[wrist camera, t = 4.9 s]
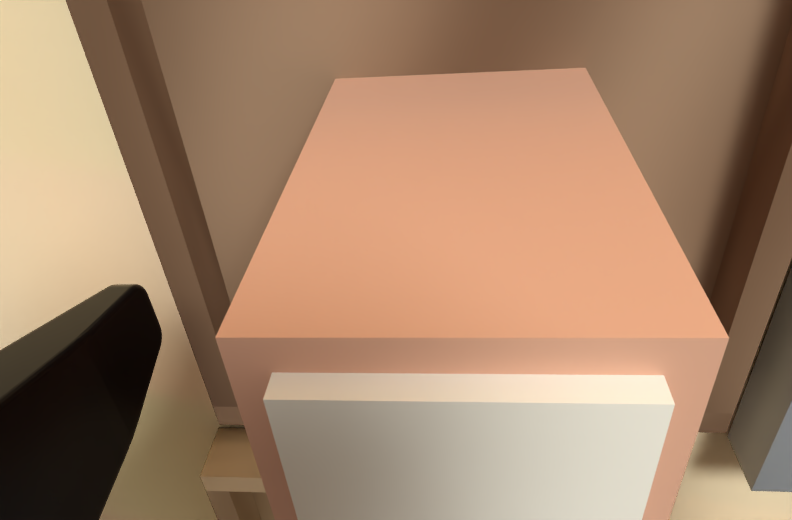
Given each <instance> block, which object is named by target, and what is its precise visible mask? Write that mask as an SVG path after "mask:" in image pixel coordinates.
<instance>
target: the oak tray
mask: <svg viewBox="0 0 792 520" xmlns="http://www.w3.org/2000/svg"><path fill="white" fill-rule="evenodd" d="M200 478H201V480H202V483H203V485H204V488H205V490H206V492H207V495H208V497H209V499H210V502H211V504H212V507H213V509H214V511H215V514H216V516H217V518H218V520H275V519H274V516H273V513H272V509H271V506H270V503H269V500H268V497H267V494H266V491H265V488H264V485H263V482H262V479H261V476H260V473H259V470H258V467H257V464H256V461H255V458H254V455H253V451H252V448H251V445H250V442H249V439H248V436H247V433H246V430H245V428H218V431H217V434H216V436H215V439H214V441H213V444H212V446H211V449H210V452H209V454H208V457H207V459H206V462H205V464H204V467H203V470H202V472H201V475H200Z"/></svg>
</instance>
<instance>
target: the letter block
mask: <svg viewBox="0 0 792 520" xmlns="http://www.w3.org/2000/svg"><path fill="white" fill-rule="evenodd" d="M215 338H216V342H217V345H218V348H219V351H220V354H221V357H222V360H223V363H224V366H225V369H226V372H227V375H228V378H229V381H230V384H231V387H232V390H233V393H234V397H235V400H236V403H237V406H238V409H239V412H240V415H241V418H242V421H243V424H244V427H245V430H246V433H247V436H248V439H249V442H250V445H251V448H252V451H253V455H254V458H255V461H256V464H257V467H258V470H259V473H260V476H261V479H262V482H263V485H264V488H265V491H266V494H267V497H268V500H269V503H270V506H271V509H272V513H273V516H274V519H275V520H669V518H670V515H671V512H672V509H673V506H674V503H675V500H676V497H677V494H678V491H679V488H680V485H681V482H682V479H683V476H684V473H685V470H686V467H687V464H688V461H689V458H690V455H691V452H692V449H693V446H694V443H695V440H696V437H697V434H698V431H699V428H700V425H701V422H702V419H703V416H704V413H705V410H706V407H707V404H708V401H709V398H710V395H711V392H712V389H713V386H714V383H715V380H716V377H717V374H718V371H719V367H720V364H721V361H722V358H723V355H724V352H725V349H726V346H727V343H728V340H729V337H728V335H727V333H726V331H725V329H724V327H723V325H722V324H721V322H720V320H719V318H718V316H717V314H716V312H715V310H714V309H713V307H712V305H711V303H710V301H709V299H708V297H707V295H706V293H705V292H704V290H703V288H702V286H701V284H700V282H699V280H698V278H697V277H696V275H695V273H694V271H693V269H692V267H691V265H690V263H689V261H688V260H687V258H686V256H685V254H684V252H683V250H682V248H681V246H680V245H679V243H678V241H677V239H676V237H675V235H674V233H673V231H672V230H671V228H670V226H669V224H668V222H667V220H666V218H665V216H664V214H663V213H662V211H661V209H660V207H659V205H658V203H657V201H656V199H655V198H654V196H653V194H652V192H651V190H650V188H649V186H648V184H647V182H646V181H645V179H644V177H643V175H642V173H641V171H640V169H639V167H638V166H637V164H636V162H635V160H634V158H633V156H632V154H631V152H630V150H629V149H628V147H627V145H626V143H625V141H624V139H623V137H622V135H621V134H620V132H619V130H618V128H617V126H616V124H615V122H614V120H613V119H612V117H611V115H610V113H609V111H608V109H607V107H606V105H605V103H604V102H603V100H602V98H601V96H600V94H599V92H598V90H597V88H596V87H595V85H594V83H593V81H592V79H591V77H590V75H589V73H588V71H587V70H586V68H568V69H545V70H522V71H499V72H477V73H454V74H431V75H408V76H385V77H363V78H340V79H335V80H334V82H333V85H332V87H331V89H330V91H329V93H328V95H327V98H326V100H325V102H324V104H323V106H322V108H321V110H320V113H319V115H318V117H317V119H316V121H315V123H314V126H313V128H312V130H311V132H310V134H309V136H308V139H307V141H306V143H305V145H304V147H303V149H302V151H301V154H300V156H299V158H298V160H297V162H296V164H295V167H294V169H293V171H292V173H291V175H290V177H289V179H288V182H287V184H286V186H285V188H284V190H283V192H282V195H281V197H280V199H279V201H278V203H277V205H276V208H275V210H274V212H273V214H272V216H271V218H270V220H269V223H268V225H267V227H266V229H265V231H264V233H263V236H262V238H261V240H260V242H259V244H258V246H257V248H256V251H255V253H254V255H253V257H252V259H251V261H250V264H249V266H248V268H247V270H246V272H245V274H244V277H243V279H242V281H241V283H240V285H239V287H238V289H237V292H236V294H235V296H234V298H233V300H232V302H231V305H230V307H229V309H228V311H227V313H226V315H225V317H224V320H223V322H222V324H221V326H220V328H219V330H218V333H217V335H216V337H215Z"/></svg>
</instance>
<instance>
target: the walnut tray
mask: <svg viewBox="0 0 792 520" xmlns="http://www.w3.org/2000/svg"><path fill="white" fill-rule="evenodd" d="M66 2H67V5H68V8H69V11H70V13H71V16H72V19H73V22H74V24H75V27H76V30H77V33H78V35H79V38H80V41H81V44H82V47H83V49H84V52H85V55H86V58H87V60H88V63H89V66H90V69H91V71H92V74H93V77H94V80H95V82H96V85H97V88H98V91H99V93H100V96H101V99H102V102H103V104H104V107H105V110H106V113H107V115H108V118H109V121H110V124H111V127H112V129H113V132H114V135H115V138H116V140H117V143H118V146H119V149H120V151H121V154H122V157H123V160H124V162H125V165H126V168H127V171H128V173H129V176H130V179H131V182H132V184H133V187H134V190H135V193H136V195H137V198H138V201H139V204H140V207H141V209H142V212H143V215H144V218H145V220H146V223H147V226H148V229H149V231H150V234H151V237H152V240H153V242H154V245H155V248H156V251H157V253H158V256H159V259H160V262H161V264H162V267H163V270H164V273H165V276H166V278H167V281H168V284H169V287H170V289H171V292H172V295H173V298H174V300H175V303H176V306H177V309H178V311H179V314H180V317H181V320H182V322H183V325H184V328H185V331H186V333H187V336H188V339H189V342H190V344H191V347H192V350H193V353H194V356H195V358H196V361H197V364H198V367H199V369H200V372H201V375H202V378H203V380H204V383H205V386H206V389H207V391H208V394H209V397H210V400H211V402H212V405H213V408H214V411H215V413H216V416H217V419H218V422H219V424H233V425H244V424H243V421H242V418H241V415H240V412H239V409H238V406H237V403H236V400H235V397H234V393H233V390H232V387H231V384H230V381H229V378H228V375H227V372H226V369H225V366H224V363H223V360H222V357H221V354H220V351H219V348H218V345H217V342H216V338H215V337H216V335H217V333H218V330H219V328H220V326H221V324H222V322H223V320H224V317H225V315H226V313H227V311H228V309H229V307H230V305H231V302H232V300H233V298H234V296H235V294H236V292H237V289H238V287H239V285H240V283H241V281H242V279H243V277H244V274H245V272H246V270H247V268H248V266H249V264H250V261H251V259H252V257H253V255H254V253H255V251H256V248H257V246H258V244H259V242H260V240H261V238H262V236H263V233H264V231H265V229H266V227H267V225H268V223H269V220H270V218H271V216H272V214H273V212H274V210H275V208H276V205H277V203H278V201H279V199H280V197H281V195H282V192H283V190H284V188H285V186H286V184H287V182H288V179H289V177H290V175H291V173H292V171H293V169H294V167H295V164H296V162H297V160H298V158H299V156H300V154H301V151H302V149H303V147H304V145H305V143H306V141H307V139H308V136H309V134H310V132H311V130H312V128H313V126H314V123H315V121H316V119H317V117H318V115H319V113H320V110H321V108H322V106H323V104H324V102H325V100H326V98H327V95H328V93H329V91H330V89H331V87H332V85H333V82H334V80H335V79H340V78H363V77H385V76H408V75H431V74H454V73H477V72H499V71H522V70H545V69H568V68H586V70H587V71H588V73H589V75H590V77H591V79H592V81H593V83H594V85H595V87H596V88H597V90H598V92H599V94H600V96H601V98H602V100H603V102H604V103H605V105H606V107H607V109H608V111H609V113H610V115H611V117H612V119H613V120H614V122H615V124H616V126H617V128H618V130H619V132H620V134H621V135H622V137H623V139H624V141H625V143H626V145H627V147H628V149H629V150H630V152H631V154H632V156H633V158H634V160H635V162H636V164H637V166H638V167H639V169H640V171H641V173H642V175H643V177H644V179H645V181H646V182H647V184H648V186H649V188H650V190H651V192H652V194H653V196H654V198H655V199H656V201H657V203H658V205H659V207H660V209H661V211H662V213H663V214H664V216H665V218H666V220H667V222H668V224H669V226H670V228H671V230H672V231H673V233H674V235H675V237H676V239H677V241H678V243H679V245H680V246H681V248H682V250H683V252H684V254H685V256H686V258H687V260H688V261H689V263H690V265H691V267H692V269H693V271H694V273H695V275H696V277H697V278H698V280H699V282H700V284H701V286H702V288H703V290H704V292H705V293H706V295H707V297H708V299H709V301H710V303H711V305H712V307H713V309H714V310H715V312H716V314H717V316H718V318H719V320H720V322H721V324H722V325H723V327H724V329H725V331H726V333H727V335H728V337H729V340H728V343H727V346H726V349H725V352H724V355H723V358H722V361H721V364H720V367H719V371H718V374H717V377H716V380H715V383H714V386H713V389H712V392H711V395H710V398H709V401H708V404H707V407H706V410H705V413H704V416H703V419H702V422H701V425H700V428H699V431H698V432H717V433H727V430H728V427H729V425H730V422H731V419H732V417H733V414H734V411H735V409H736V406H737V403H738V401H739V398H740V395H741V393H742V390H743V387H744V385H745V382H746V379H747V377H748V374H749V371H750V368H751V366H752V363H753V360H754V358H755V355H756V352H757V350H758V347H759V344H760V342H761V339H762V336H763V334H764V331H765V328H766V326H767V323H768V320H769V318H770V315H771V312H772V310H773V307H774V304H775V302H776V299H777V296H778V294H779V291H780V288H781V286H782V283H783V280H784V278H785V275H786V272H787V270H788V267H789V264H790V262H791V259H792V0H66Z"/></svg>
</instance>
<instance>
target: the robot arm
mask: <svg viewBox="0 0 792 520" xmlns="http://www.w3.org/2000/svg"><path fill="white" fill-rule="evenodd" d="M161 340H162V333H161V328H160V325H159V322H158V320H157V317H156V314H155V312H154V309H153V307H152V304H151V302H150V299H149V297H148V294H147V292H146V290H145V289H144V288H143V287H142V286H140V285H136V284H131V285H111V286H109V287H107V288H105V289H104V290H102V291H100V292H99V293H97V294H95V295H93V296H92V297H90V298H88V299H87V300H85V301H83V302H82V303H80V304H78V305H76V306H75V307H73V308H71V309H70V310H68V311H66V312H65V313H63V314H61V315H59V316H58V317H56V318H54V319H53V320H51V321H49V322H48V323H46V324H44V325H42V326H41V327H39V328H37V329H36V330H34V331H32V332H31V333H29V334H27V335H25V336H24V337H22V338H20V339H19V340H17V341H15V342H13V343H12V344H10V345H8V346H7V347H5V348H3V349H2V350H0V520H99V518H100V516H101V513H102V511H103V509H104V506H105V504H106V501H107V499H108V497H109V494H110V492H111V490H112V487H113V485H114V482H115V480H116V478H117V475H118V473H119V471H120V468H121V466H122V463H123V461H124V459H125V456H126V454H127V451H128V449H129V446H130V444H131V441H132V439H133V436H134V433H135V430H136V427H137V424H138V420H139V417H140V414H141V410H142V407H143V403H144V400H145V397H146V393H147V390H148V387H149V383H150V380H151V376H152V373H153V370H154V366H155V363H156V360H157V356H158V353H159V350H160V346H161Z"/></svg>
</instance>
